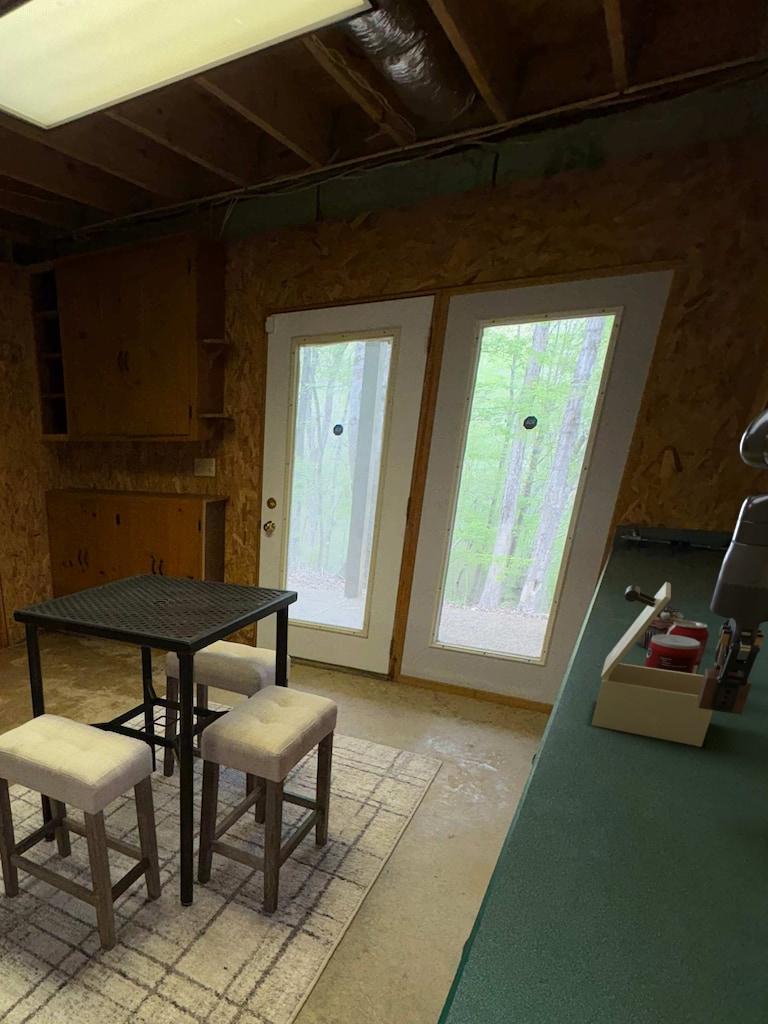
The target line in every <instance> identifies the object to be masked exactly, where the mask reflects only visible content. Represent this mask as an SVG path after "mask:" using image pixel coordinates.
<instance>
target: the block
mask: <svg viewBox="0 0 768 1024" xmlns="http://www.w3.org/2000/svg"><path fill="white" fill-rule="evenodd" d="M719 672H720V670H717V669H715V668H709V667H708V668H707V667H706V668H705V670H704V673H703V675H704V677H703V680H702V683H701V687H700V690H699V694H698V708H702V709H708V710H712V709H711V702H712V699H713V695H714V692H715V689H716V686H717V681H716V679H717V677H718V676H719ZM739 673H740V671H739V672H732V671H729V672H728V675H734V676H739ZM747 680H748V682H747V684H745V686H742V687H740V688H739V692H738V695H737V698H736V701H735V704H734V707H733V710H732V711H731V712H726V714H734V715H740V716H741V715H743V711H744V708H745V705H746V702H747V699H748V697H749V693H750V690H751V688H752V681H751V678H750V676H749V677H748V679H747ZM714 711H715V710H713V712H714ZM715 712H716V711H715ZM719 712H721V711H719ZM721 713H722V712H721Z"/></svg>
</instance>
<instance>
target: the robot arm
mask: <svg viewBox="0 0 768 1024" xmlns="http://www.w3.org/2000/svg"><path fill="white" fill-rule="evenodd" d="M739 453H740V454H739V455H740V457H741V459H742V460H743V462H744V463H745V464H746V465H748V466H749V467H752V468H753V469H759V470H768V407H766V408H765V409H764V410H762V411H761V412H760V413H759V414H758V415H757V416H756V417H754V419H753V420H752V421H751V422H750V423H749V425H748V427H747V428H746V429H745V431H744V432H743V435H742V437H741V440H740V444H739ZM738 514H739V515H738V519H737V521H736V525H735V528H734V531H733V535H732V539H731V542H730V545H729V547H728V549H727V551H726V554H725V555H724V558H723V561H722V564H721V568H720V571H719V574H718V577H717V582H716V585H715V589H714V592H713V596H712V599H711V602H710V607H709V610H710V612H711V613H712V614H714V615H716V616H719V617H722V618H725V621H724V622H723V624H722V625H720V628H719V633H718V642H717V644H716V648H715V656H714V665H713V668H714V669H717V670H720V672H719V676H718V677H717V679H716V681H717V686H716V689H715V692H714V695H713V699H712V702H711V709H712V710H713V711H714V710H715V712H720V711H721V713H727V712H731V711H732V710H733V707H734V704H735V701H736V698H737V695H738V692H739V688H740V687H742V686H745V684H747V682H748V680H747V679H748V677H749V678H750V674H751V671H752V669H753V667H754V664H755V661H756V658H757V657H758V653H760V650H761V646H762V645H763V641H764V636H765V634H763V633H762V629H761V628H760V625H761V624H762V623H767V622H768V490H765V491H760V492H756V493H753V494H751V495H749V496H747V497H746V498H745V500H744V501H743V503H742V505H741V508H740V511H739V513H738ZM729 671H732V672H740V673H739V676H734V675H728V672H729Z"/></svg>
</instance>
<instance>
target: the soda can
mask: <svg viewBox="0 0 768 1024" xmlns="http://www.w3.org/2000/svg"><path fill="white" fill-rule="evenodd" d="M707 628H708V624H707V623H705V622H701V621H695V620H689V619H688V620H687V619H685V620H677V621H674V625H672V626H671V627H670V628H669V629H668V631H667V634H668V635H678V636H684V637H688V638H692V639H694V640H697V641H699V642H700V648H699V652H698V655H697V659H696V662H695V665H694V668H693V672H692V674H698V672H699V669H700V665H701V662H702V659H703V657H704V656H703V655H704V652H705V649H706V645H707V642H708V640H709V636H710V633H709V631H708V629H707Z"/></svg>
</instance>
